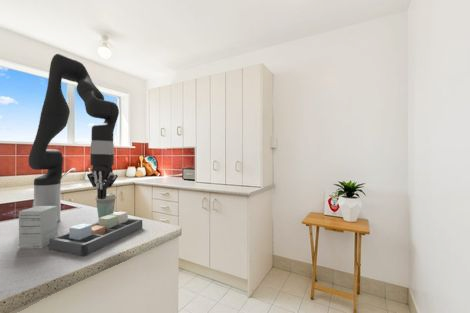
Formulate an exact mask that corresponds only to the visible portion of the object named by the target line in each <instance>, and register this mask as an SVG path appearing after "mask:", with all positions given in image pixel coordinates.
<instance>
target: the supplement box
mask: <svg viewBox="0 0 470 313" xmlns="http://www.w3.org/2000/svg"><path fill="white" fill-rule="evenodd" d="M56 236H59V235H58V221H57V206H35V207H33V206H32V207H30V208H26V209H22V210H19V211H18V249H21V250H22V249H23V250H24V249H25V250H26V249H27V250H28V249H29V250H30V249H43V248H46V246H49V239H51V238H53V237H56Z"/></svg>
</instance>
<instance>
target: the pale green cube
mask: <svg viewBox="0 0 470 313" xmlns="http://www.w3.org/2000/svg"><path fill="white" fill-rule="evenodd" d="M98 222H99V226H105V228H107V229H108V228H111V227H113V226H116V225H117V216H113V215H107V216H104V217H100V218H98Z"/></svg>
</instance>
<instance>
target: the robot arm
mask: <svg viewBox="0 0 470 313" xmlns="http://www.w3.org/2000/svg"><path fill="white" fill-rule="evenodd" d="M48 72H49V73H48V81H47V87H46V93H45V96H44V101H43V105H42V108H41V112H40V117H39V123H38V126H37V131H36V135H35V138H34V141H33V142H32V143H33V144H32V146H31V149H30V153H29V154H28V155H29V156H28V166H29V168H31V169H32V170H36V171H40V170H42V171H43V170H46V171H47V172H46V173H44V174H43V175H41V176H39V177H36V178H34V179H33V201H32V207H35V206H57V222H58V221H60V220H61V210H62V209H61V206H62V205H61V203H62V202H61V200H62V198H61V197H62V196H61V194H62V192H61V189H62V188H61V181H62V179H63V178H62V177H63V164H64V163H63V162H64V158H63V157H64V156H63V153H62V152H61V151H60V150H59V149H51V148H50V149H48V146H49V144H50V143H51V141H52V140H53V139H54V138H55V137H56V136H57V135H59V133H61V132H62V131H63V130H64V129H65V127H67V124H68V121H69V117H70V112H71V111H70V106H69V105H68V103H67V100H66V99H65V96H64V94H63V91H62V81H63V80H67V81H70V82H73V83H76V84H77V85H76V92H77V95H79V98H80V99H81V100H82V101H83V103H84V108H85V111H86V112H85V113H86V114H87V115H89V116H90V117H92V118H95V119H101V120H104V121H103V123H102V124H95V125H93V126H92V127H91V135H90V136H91V141H90V142H91V143H90V151H89V152H90V155H89V156H90V159H89V160H90V164H89V165H90V166H91V167H92V168H91V172H90V173H87V174H86V177H87V178H88V181H90V184H91V185H92V188H95V189H96V190H97V192H96V193H97V195H96V197H97V196H98V199H105V198H106V193H107V189H108V188H111V187H112V186H113V185H114V183H115V182H116V180H117V178H118V174H115V173H114V172H113V166H114V164H115V144H114V132H115V131H114V130H115V127H116V125H117V124H116V123H117V120H118V118H119V115H120V110H119V107H118V105H117V104H116V103H115V102H113V101H109V100H106V99H105V96H104V95H103V93H102V92H101V91H100V90H99V88H98V87H97V86H96V85H95V84H94V82H93V81H92V78H91V76H90V74H89V71H87V69H86V66H85V65H84V64H83V63H82V62H80V61H79V60H76V59H73V58H71V57H68V56H65V55H63V54H61V53H56V54H54V55H53V57H52V59H51V61H50V65H49V71H48Z"/></svg>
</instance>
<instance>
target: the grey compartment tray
mask: <svg viewBox="0 0 470 313" xmlns="http://www.w3.org/2000/svg"><path fill="white" fill-rule="evenodd" d="M90 225H92V226H95V225H98V226H99V221H98V222H95V223H92V224H90ZM142 229H143V219H137V218H128V221H126V222H123V223H121V224H117V225H116V226H113V227H111V228H108V229H107V228H105V235H98V234H92V235H91V236H88V237H85V238H83V239H80V240H77V239H71V238H69V231H68V232H65V233H62V234H59V235H58V236H56V237H53V238H51V239H49V244H48V246H49V248H48V250H50V251H53V252H58V253H59V252H60V253H65V254H69V255H75V256H80V257H86V256H88V255H90V254H92V253H94V252H96V251H99V250H101V249H103V248H105V247H107V246H109V245H111V244H113V243H114V242H117V241H119V240H121V239H123V238H125V237H127V236H130V235H132V234H133V233H135V232H138V231H140V230H142Z"/></svg>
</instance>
